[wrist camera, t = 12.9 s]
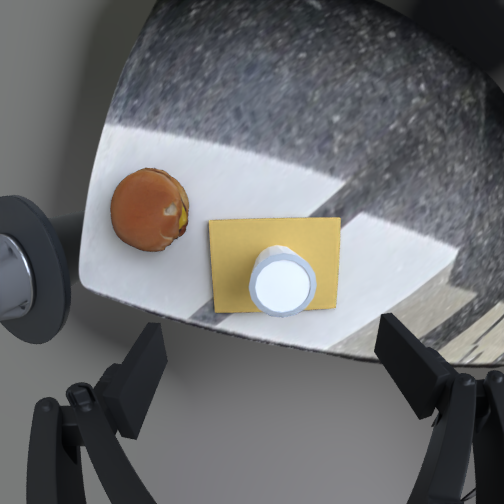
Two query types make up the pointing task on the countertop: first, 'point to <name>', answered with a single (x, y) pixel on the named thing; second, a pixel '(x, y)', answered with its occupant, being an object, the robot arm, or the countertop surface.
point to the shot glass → (281, 282)
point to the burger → (149, 210)
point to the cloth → (261, 237)
